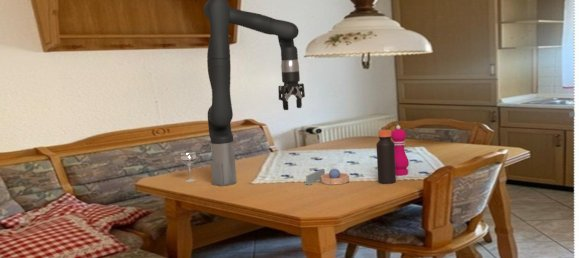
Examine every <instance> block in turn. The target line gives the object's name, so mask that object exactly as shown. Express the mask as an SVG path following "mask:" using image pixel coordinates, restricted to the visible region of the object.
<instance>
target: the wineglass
mask: <svg viewBox="0 0 579 258" xmlns="http://www.w3.org/2000/svg"><path fill="white" fill-rule="evenodd" d="M180 161H181V163H182V164H184V165H186V166H187V167H188V174H189V179H186V180H184V182H186V183H190V182H196V181H197V179H196V178H195V179H194V178H192V177H191V176H192V175H191V174H192V173H191V166H192V165H194V164H195V163H196V161H197V155H196V151H186V152H181V153H180Z"/></svg>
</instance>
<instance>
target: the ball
mask: <svg viewBox="0 0 579 258" xmlns="http://www.w3.org/2000/svg"><path fill="white" fill-rule="evenodd" d="M328 173H329V176H330V178H339V177H340V173H341V172H340V170H339V169H337V168H332V169H330V171H328Z"/></svg>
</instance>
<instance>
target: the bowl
mask: <svg viewBox="0 0 579 258" xmlns="http://www.w3.org/2000/svg"><path fill="white" fill-rule="evenodd" d="M320 177H321V179H320V183H321V185H322V184H323V185H327V186H329V185H330V186H334V185H335V186H337V185H344V184H347V183H349V182H350V175H349V174H348V173H344V172H340V177H339V178H330V176H329V172H328V173H325V174H324V175H321V176H320Z"/></svg>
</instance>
